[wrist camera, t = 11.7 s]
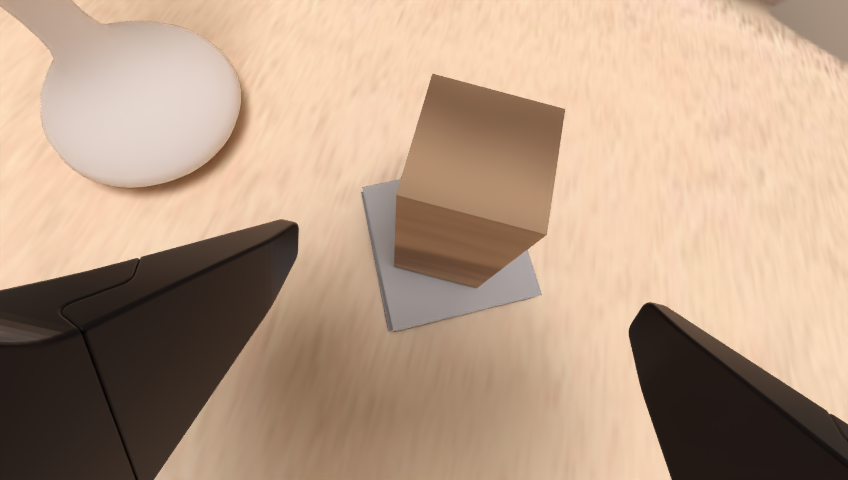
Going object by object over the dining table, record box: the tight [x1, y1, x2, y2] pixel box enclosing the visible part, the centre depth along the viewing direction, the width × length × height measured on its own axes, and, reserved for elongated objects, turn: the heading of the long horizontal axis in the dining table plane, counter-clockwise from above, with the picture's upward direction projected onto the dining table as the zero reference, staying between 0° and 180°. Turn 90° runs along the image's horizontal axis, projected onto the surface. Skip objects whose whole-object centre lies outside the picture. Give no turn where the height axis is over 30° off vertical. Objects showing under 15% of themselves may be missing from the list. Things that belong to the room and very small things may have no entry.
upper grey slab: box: [362, 180, 542, 332], centre depth 23 cm, size 9×9×1 cm
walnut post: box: [394, 74, 565, 288], centre depth 17 cm, size 5×5×10 cm
